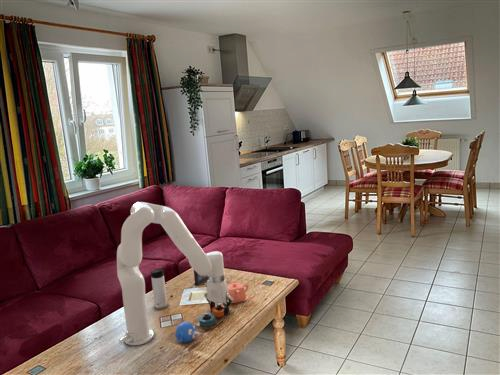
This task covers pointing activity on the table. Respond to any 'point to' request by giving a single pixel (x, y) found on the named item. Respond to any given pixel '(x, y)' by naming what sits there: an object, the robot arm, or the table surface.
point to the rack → (215, 316)
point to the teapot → (237, 292)
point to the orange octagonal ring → (218, 313)
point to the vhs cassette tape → (199, 278)
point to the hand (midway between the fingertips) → (219, 312)
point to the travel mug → (159, 289)
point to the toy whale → (186, 332)
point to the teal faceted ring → (207, 322)
